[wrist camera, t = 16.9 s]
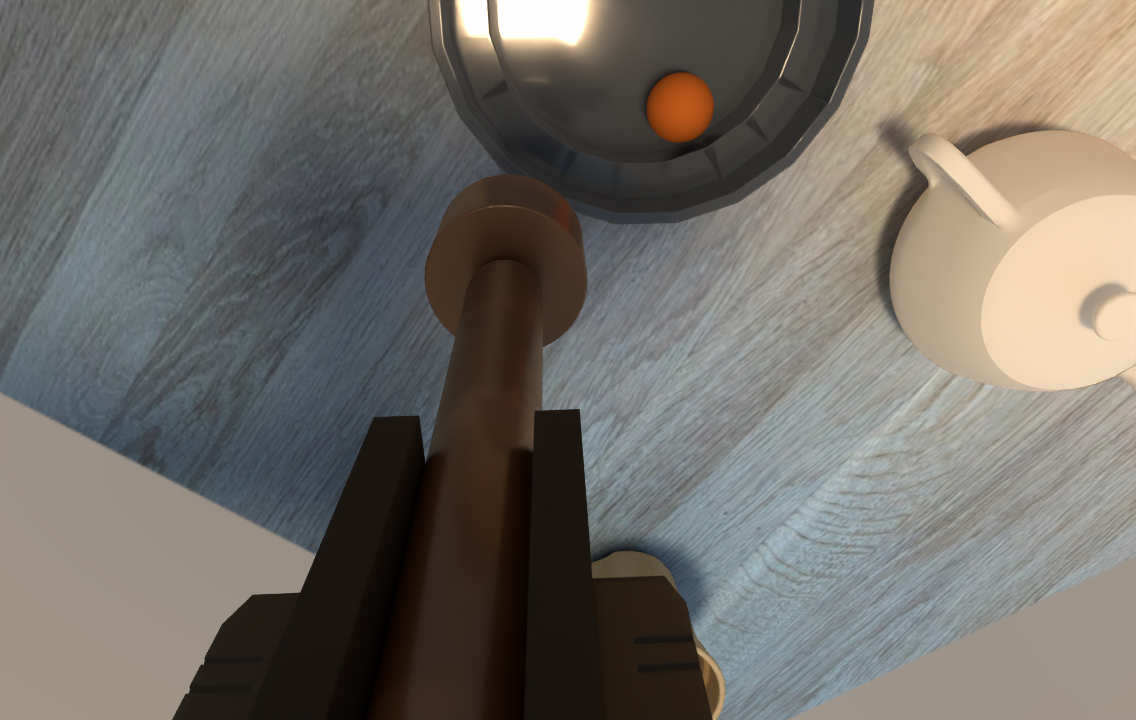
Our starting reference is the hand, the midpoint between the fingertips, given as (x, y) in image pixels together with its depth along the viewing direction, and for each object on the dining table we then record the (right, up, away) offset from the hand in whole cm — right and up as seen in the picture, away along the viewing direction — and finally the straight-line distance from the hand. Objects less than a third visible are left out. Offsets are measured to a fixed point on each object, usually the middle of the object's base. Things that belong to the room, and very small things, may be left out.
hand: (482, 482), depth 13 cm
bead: (+7, +13, +21) cm, 26 cm away
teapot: (+24, +8, +27) cm, 37 cm away
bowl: (+5, +18, +21) cm, 28 cm away
